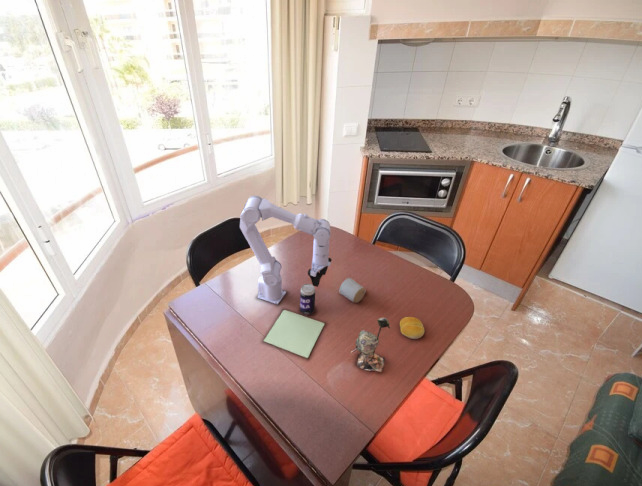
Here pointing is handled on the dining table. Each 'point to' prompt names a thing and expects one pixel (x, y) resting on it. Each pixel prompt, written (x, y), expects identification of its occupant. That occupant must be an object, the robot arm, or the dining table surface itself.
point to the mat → (294, 333)
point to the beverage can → (307, 299)
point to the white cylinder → (352, 290)
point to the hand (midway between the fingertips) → (319, 279)
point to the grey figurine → (370, 348)
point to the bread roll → (411, 327)
